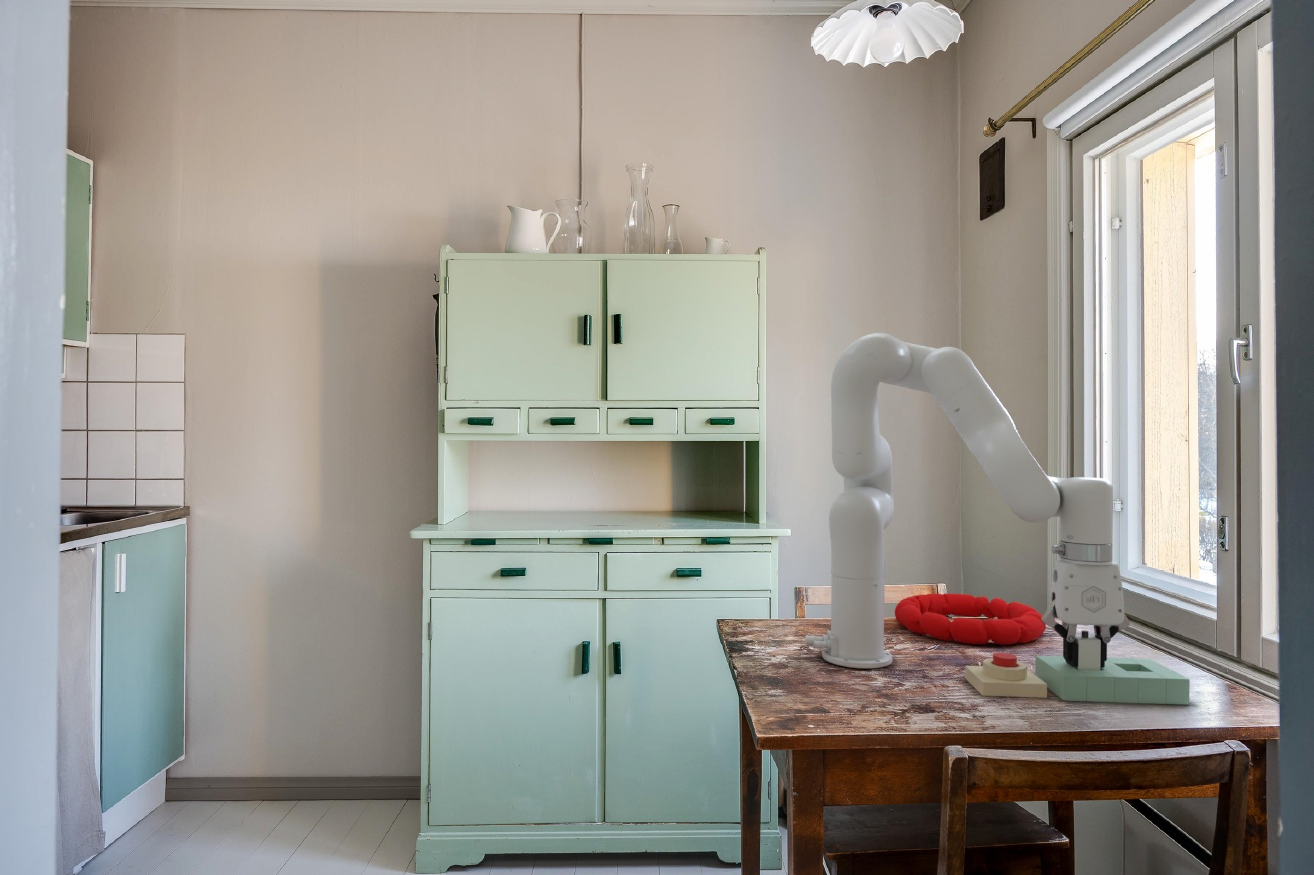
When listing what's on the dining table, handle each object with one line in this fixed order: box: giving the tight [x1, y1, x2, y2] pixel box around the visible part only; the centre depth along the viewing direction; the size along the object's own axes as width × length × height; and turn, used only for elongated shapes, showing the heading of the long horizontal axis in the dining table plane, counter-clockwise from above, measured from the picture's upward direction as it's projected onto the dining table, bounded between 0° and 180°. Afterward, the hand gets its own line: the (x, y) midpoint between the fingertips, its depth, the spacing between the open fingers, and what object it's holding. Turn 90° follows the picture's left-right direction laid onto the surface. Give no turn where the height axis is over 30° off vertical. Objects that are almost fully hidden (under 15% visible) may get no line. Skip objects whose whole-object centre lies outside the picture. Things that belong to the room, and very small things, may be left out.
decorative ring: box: [894, 593, 1047, 646], centre depth 170 cm, size 7×30×30 cm
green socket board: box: [1034, 655, 1191, 706], centre depth 129 cm, size 19×11×4 cm, turn 86°
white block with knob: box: [1074, 630, 1101, 670], centre depth 129 cm, size 3×3×7 cm
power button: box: [992, 652, 1018, 667], centre depth 130 cm, size 4×4×2 cm
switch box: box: [964, 657, 1048, 699], centre depth 130 cm, size 10×9×4 cm
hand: (1084, 663), depth 129 cm, fingers closed on white block with knob, 3 cm apart
